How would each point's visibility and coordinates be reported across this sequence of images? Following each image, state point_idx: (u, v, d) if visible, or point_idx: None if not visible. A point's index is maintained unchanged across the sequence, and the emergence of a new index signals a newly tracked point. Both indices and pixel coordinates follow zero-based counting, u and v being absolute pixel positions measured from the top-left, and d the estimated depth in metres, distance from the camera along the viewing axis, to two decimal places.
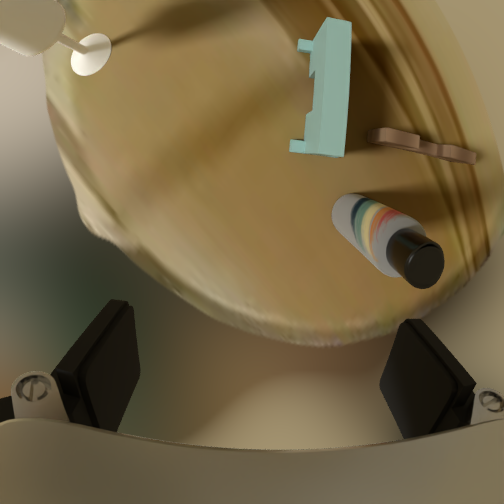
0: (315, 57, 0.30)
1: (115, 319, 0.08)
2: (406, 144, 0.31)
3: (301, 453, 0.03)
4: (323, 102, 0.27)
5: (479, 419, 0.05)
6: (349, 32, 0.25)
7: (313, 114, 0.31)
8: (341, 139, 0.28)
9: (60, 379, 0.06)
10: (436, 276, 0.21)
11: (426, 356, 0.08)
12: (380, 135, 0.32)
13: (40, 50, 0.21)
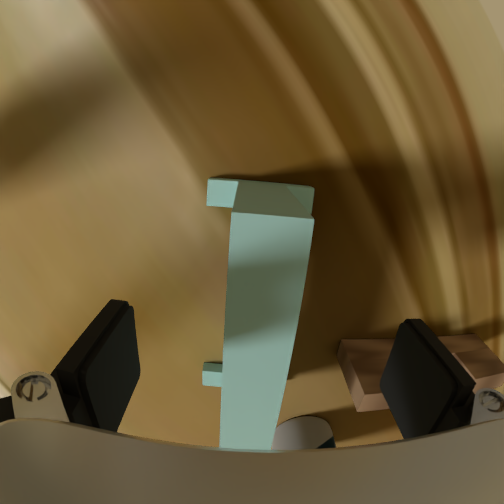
0: None
1: (115, 319, 0.08)
2: None
3: (301, 453, 0.03)
4: (222, 424, 0.13)
5: (479, 419, 0.05)
6: (302, 259, 0.10)
7: None
8: None
9: (60, 379, 0.06)
10: None
11: (426, 356, 0.08)
12: (353, 387, 0.18)
13: None
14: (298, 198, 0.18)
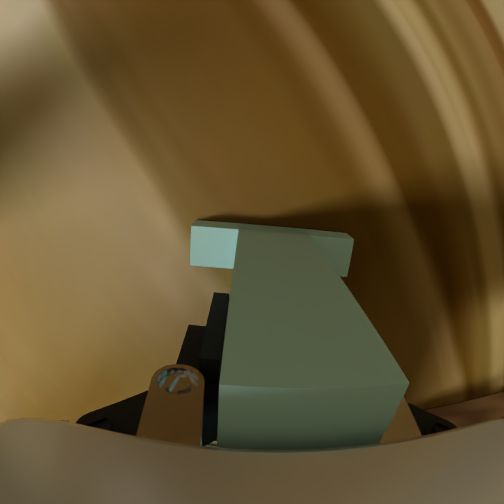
0: None
1: None
2: None
3: (301, 453, 0.03)
4: None
5: None
6: None
7: None
8: None
9: (200, 369, 0.07)
10: None
11: None
12: None
13: None
14: (329, 254, 0.12)
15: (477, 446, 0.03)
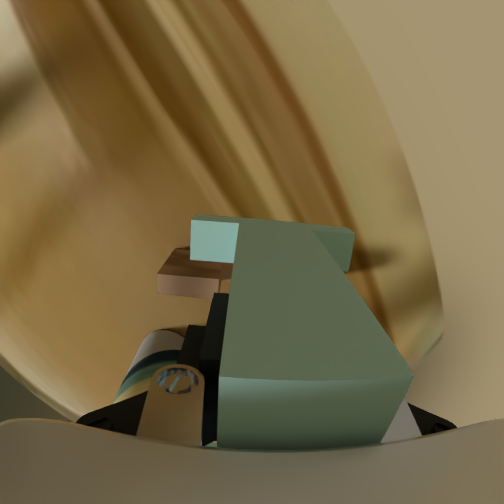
0: None
1: None
2: (193, 295, 0.23)
3: (301, 453, 0.03)
4: None
5: None
6: (371, 440, 0.04)
7: None
8: None
9: (200, 369, 0.07)
10: None
11: None
12: None
13: None
14: (330, 248, 0.11)
15: (477, 446, 0.03)
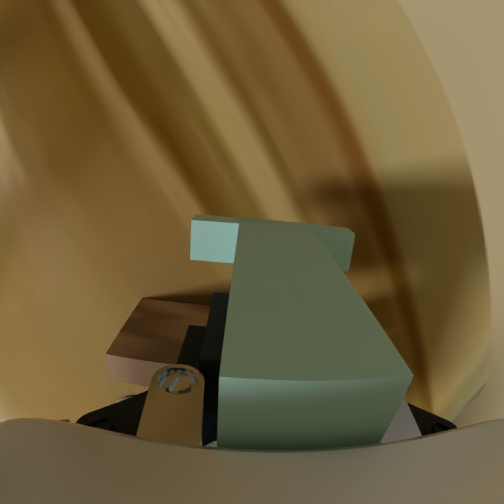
0: None
1: None
2: None
3: (301, 453, 0.03)
4: None
5: None
6: (371, 440, 0.04)
7: None
8: None
9: (200, 369, 0.07)
10: None
11: None
12: None
13: None
14: (330, 249, 0.11)
15: (477, 446, 0.03)
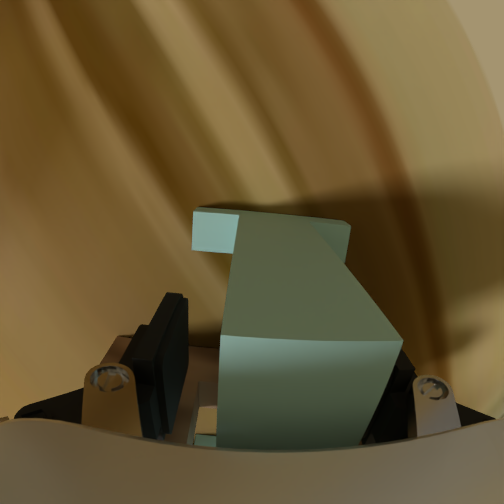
0: None
1: (176, 310, 0.09)
2: None
3: (301, 453, 0.03)
4: None
5: (424, 411, 0.06)
6: (365, 409, 0.04)
7: None
8: None
9: (135, 368, 0.07)
10: None
11: None
12: None
13: None
14: (327, 240, 0.12)
15: (477, 446, 0.03)
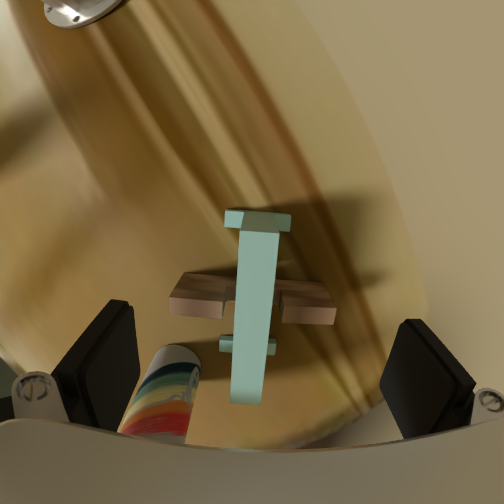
0: None
1: (115, 319, 0.08)
2: (201, 315, 0.26)
3: (301, 453, 0.03)
4: (233, 355, 0.23)
5: (479, 419, 0.05)
6: (274, 253, 0.21)
7: None
8: (257, 390, 0.24)
9: (60, 379, 0.06)
10: None
11: (426, 356, 0.08)
12: None
13: None
14: (281, 222, 0.29)
15: (477, 446, 0.03)
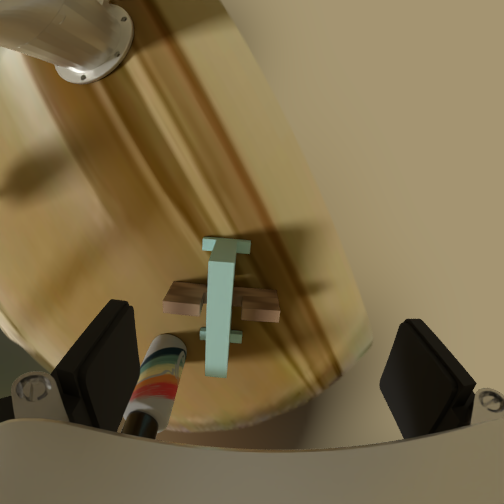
0: None
1: (115, 319, 0.08)
2: (185, 314, 0.37)
3: (301, 453, 0.03)
4: (206, 342, 0.35)
5: (479, 419, 0.05)
6: (231, 275, 0.32)
7: None
8: (223, 367, 0.36)
9: (60, 379, 0.06)
10: None
11: (426, 356, 0.08)
12: None
13: None
14: (243, 247, 0.40)
15: (477, 446, 0.03)
